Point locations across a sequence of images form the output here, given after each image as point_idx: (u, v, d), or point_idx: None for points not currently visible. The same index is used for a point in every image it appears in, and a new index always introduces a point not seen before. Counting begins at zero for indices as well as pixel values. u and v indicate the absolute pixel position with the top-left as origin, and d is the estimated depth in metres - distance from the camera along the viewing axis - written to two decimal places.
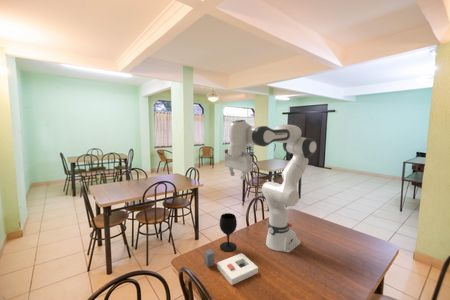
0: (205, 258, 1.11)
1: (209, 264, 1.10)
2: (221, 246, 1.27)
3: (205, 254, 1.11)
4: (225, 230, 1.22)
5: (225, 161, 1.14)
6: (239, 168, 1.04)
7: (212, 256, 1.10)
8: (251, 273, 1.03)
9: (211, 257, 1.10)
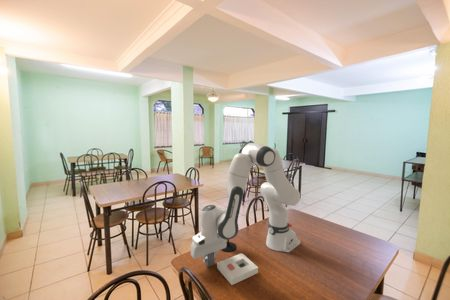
0: None
1: (209, 264, 1.10)
2: None
3: None
4: None
5: (195, 254, 1.05)
6: (217, 249, 1.12)
7: (212, 256, 1.10)
8: (251, 273, 1.03)
9: (211, 257, 1.10)
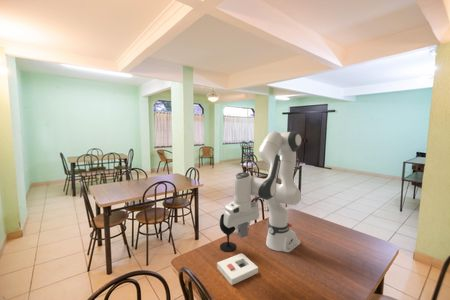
0: None
1: (242, 234, 1.04)
2: (221, 246, 1.27)
3: None
4: (225, 230, 1.22)
5: (229, 222, 0.99)
6: (250, 219, 1.06)
7: (245, 226, 1.05)
8: (251, 273, 1.03)
9: (245, 228, 1.05)
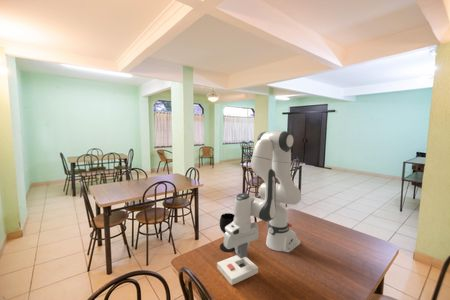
0: None
1: (242, 255, 1.05)
2: (221, 246, 1.27)
3: None
4: (225, 230, 1.22)
5: (229, 244, 1.00)
6: (250, 240, 1.07)
7: (245, 247, 1.06)
8: (251, 273, 1.03)
9: (244, 248, 1.06)
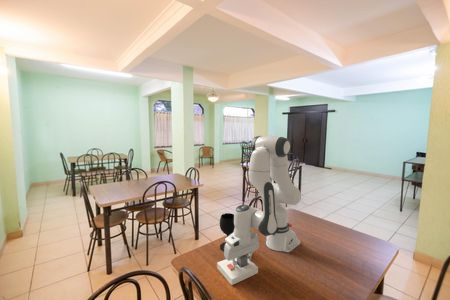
0: (238, 262, 1.07)
1: None
2: (221, 246, 1.27)
3: (238, 258, 1.07)
4: (225, 230, 1.22)
5: (230, 255, 1.01)
6: (250, 250, 1.08)
7: (245, 260, 1.07)
8: (251, 273, 1.03)
9: (245, 261, 1.07)
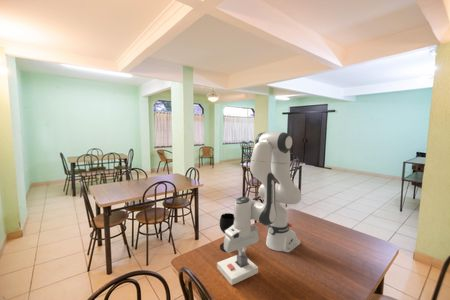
0: (238, 262, 1.07)
1: None
2: (221, 246, 1.27)
3: (238, 258, 1.07)
4: None
5: (229, 247, 1.01)
6: (250, 243, 1.08)
7: (245, 260, 1.07)
8: (251, 273, 1.03)
9: (245, 261, 1.07)
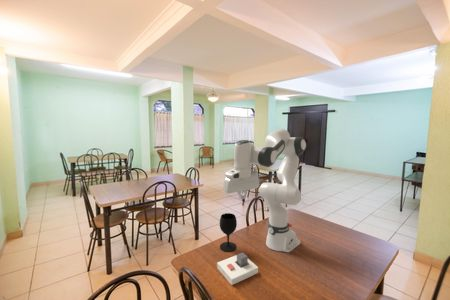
0: (238, 262, 1.07)
1: None
2: (221, 246, 1.27)
3: (238, 258, 1.07)
4: (225, 230, 1.22)
5: (229, 188, 1.00)
6: (250, 187, 1.07)
7: (245, 260, 1.07)
8: (251, 273, 1.03)
9: (245, 261, 1.07)
